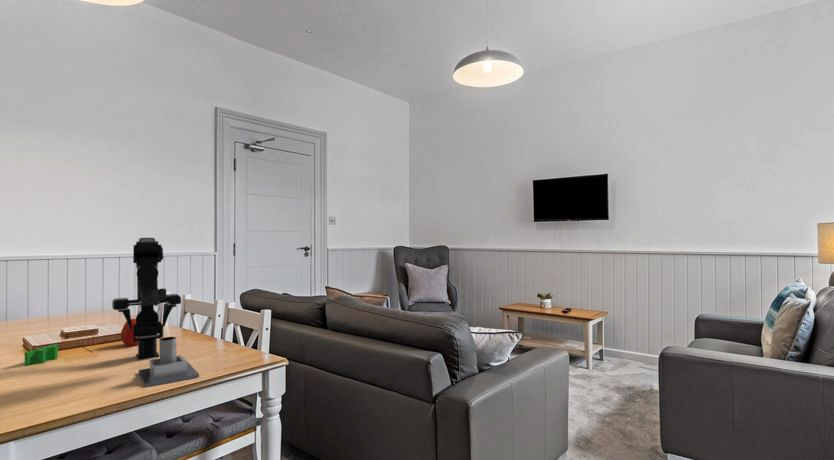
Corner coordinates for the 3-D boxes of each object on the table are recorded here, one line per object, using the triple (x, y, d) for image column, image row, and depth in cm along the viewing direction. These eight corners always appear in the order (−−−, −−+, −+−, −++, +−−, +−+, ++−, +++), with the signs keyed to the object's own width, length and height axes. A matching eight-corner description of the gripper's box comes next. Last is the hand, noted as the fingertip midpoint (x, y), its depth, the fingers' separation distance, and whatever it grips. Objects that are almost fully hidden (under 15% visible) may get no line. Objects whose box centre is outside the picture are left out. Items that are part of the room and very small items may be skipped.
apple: (149, 344, 179) (149, 316, 179) (127, 348, 172) (127, 320, 172) (138, 341, 183) (138, 314, 183) (116, 345, 176) (116, 318, 176)
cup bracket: (138, 373, 142) (138, 358, 142) (187, 364, 151) (187, 351, 151) (145, 387, 130) (145, 371, 130) (199, 377, 138) (199, 362, 138)
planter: (159, 375, 137) (159, 341, 137) (160, 370, 141) (159, 337, 141) (176, 372, 140) (176, 339, 139) (176, 368, 144) (175, 336, 143)
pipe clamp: (34, 366, 150) (34, 352, 150) (24, 366, 151) (24, 352, 151) (64, 357, 161) (64, 344, 161) (55, 356, 162) (55, 343, 162)
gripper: (115, 284, 135) (115, 337, 135) (184, 280, 147) (184, 328, 147) (112, 281, 144) (112, 330, 144) (177, 277, 156) (177, 322, 156)
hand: (147, 328), depth 147 cm, fingers open, 9 cm apart
